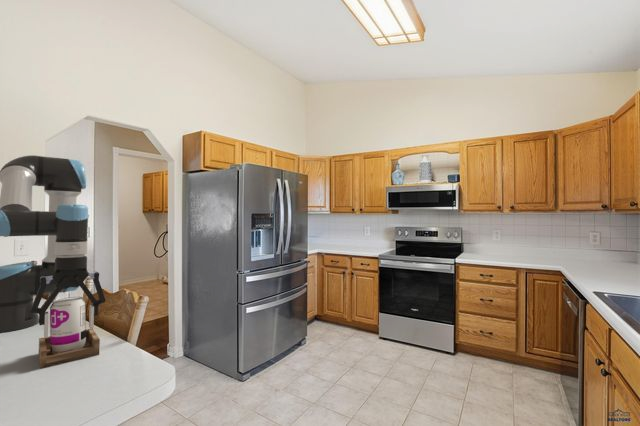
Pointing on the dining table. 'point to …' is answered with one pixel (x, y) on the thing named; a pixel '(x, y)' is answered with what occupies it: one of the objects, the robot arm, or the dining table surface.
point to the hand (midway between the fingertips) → (69, 331)
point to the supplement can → (67, 325)
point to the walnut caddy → (87, 351)
